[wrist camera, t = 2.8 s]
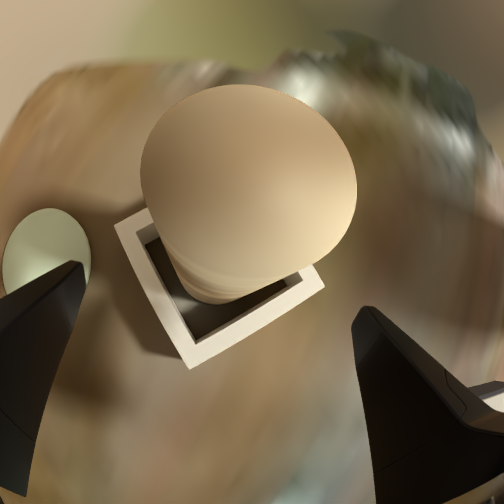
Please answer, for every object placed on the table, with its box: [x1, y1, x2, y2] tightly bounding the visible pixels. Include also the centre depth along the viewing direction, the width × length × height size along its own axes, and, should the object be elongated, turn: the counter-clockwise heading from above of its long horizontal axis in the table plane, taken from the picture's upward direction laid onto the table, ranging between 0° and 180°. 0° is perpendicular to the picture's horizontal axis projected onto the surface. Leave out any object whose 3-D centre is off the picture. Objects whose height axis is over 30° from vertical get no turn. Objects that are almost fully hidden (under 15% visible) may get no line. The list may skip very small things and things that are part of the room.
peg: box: [140, 85, 357, 305], centre depth 12 cm, size 5×5×13 cm
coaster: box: [2, 208, 91, 295], centre depth 16 cm, size 8×8×1 cm
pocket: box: [114, 207, 325, 370], centre depth 17 cm, size 9×9×3 cm
